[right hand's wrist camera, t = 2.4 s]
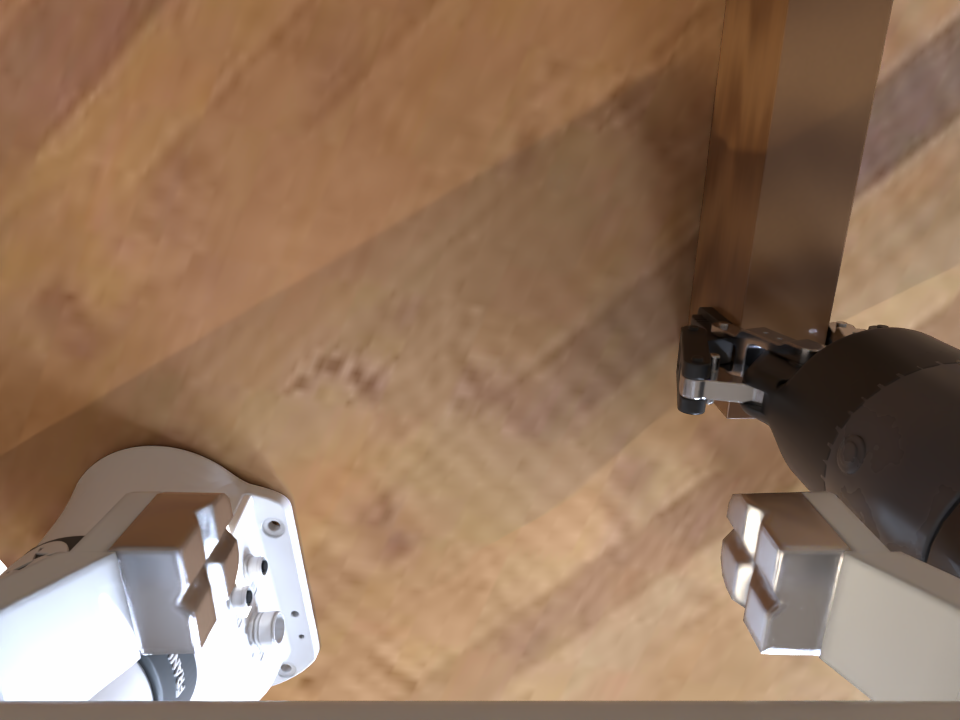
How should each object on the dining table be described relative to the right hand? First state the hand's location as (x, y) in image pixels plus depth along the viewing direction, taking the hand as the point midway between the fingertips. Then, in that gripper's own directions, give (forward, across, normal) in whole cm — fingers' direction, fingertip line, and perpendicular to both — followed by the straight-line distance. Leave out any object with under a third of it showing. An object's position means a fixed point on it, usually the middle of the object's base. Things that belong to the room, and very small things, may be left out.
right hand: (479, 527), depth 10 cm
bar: (+31, +16, +5) cm, 35 cm away
